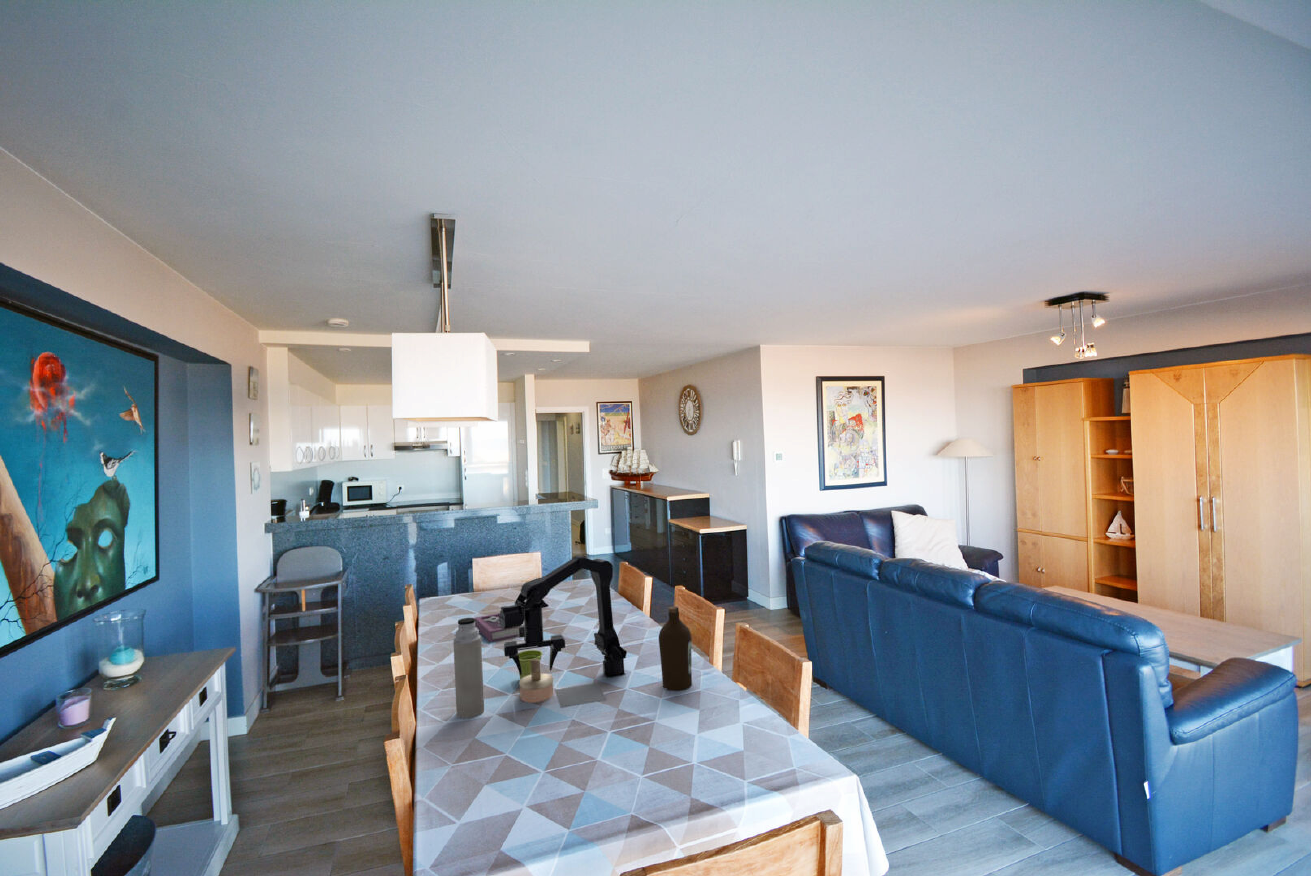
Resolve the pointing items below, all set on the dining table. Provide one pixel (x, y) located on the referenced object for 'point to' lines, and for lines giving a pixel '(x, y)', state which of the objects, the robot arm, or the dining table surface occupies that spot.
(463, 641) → the thermos bottle
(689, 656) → the olive oil
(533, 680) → the lid
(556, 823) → the dining table surface
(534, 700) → the bowl
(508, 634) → the book
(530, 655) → the plant pot
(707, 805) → the dining table surface
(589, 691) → the mat
